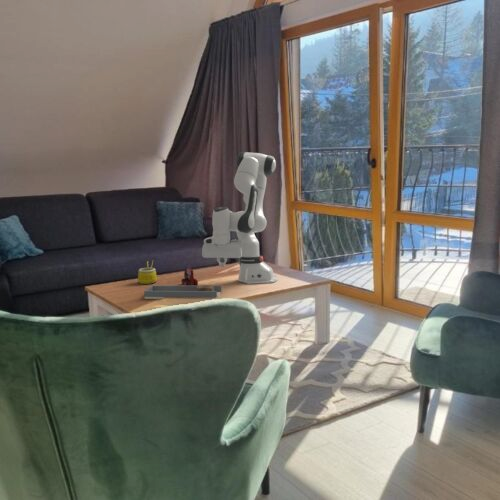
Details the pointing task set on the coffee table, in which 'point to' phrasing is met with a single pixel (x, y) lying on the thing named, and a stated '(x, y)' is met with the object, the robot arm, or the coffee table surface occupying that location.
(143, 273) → the mug
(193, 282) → the red wheeled piece
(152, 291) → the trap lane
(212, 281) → the coffee table surface
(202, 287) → the walnut block
